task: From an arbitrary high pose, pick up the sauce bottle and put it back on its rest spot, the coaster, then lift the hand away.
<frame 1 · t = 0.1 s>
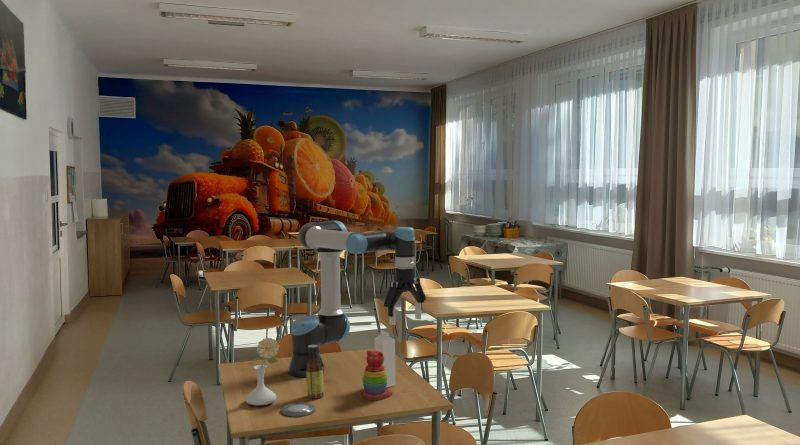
hand: (405, 321, 247), 28 cm above the table, tool pointing down, fingers open, 13 cm apart
stacking bear: (375, 396, 246), on the table
milk: (385, 385, 258), on the table
flower in vase: (263, 403, 240), on the table
coaster: (298, 410, 231), on the table
sauce bottle: (315, 396, 246), on the table
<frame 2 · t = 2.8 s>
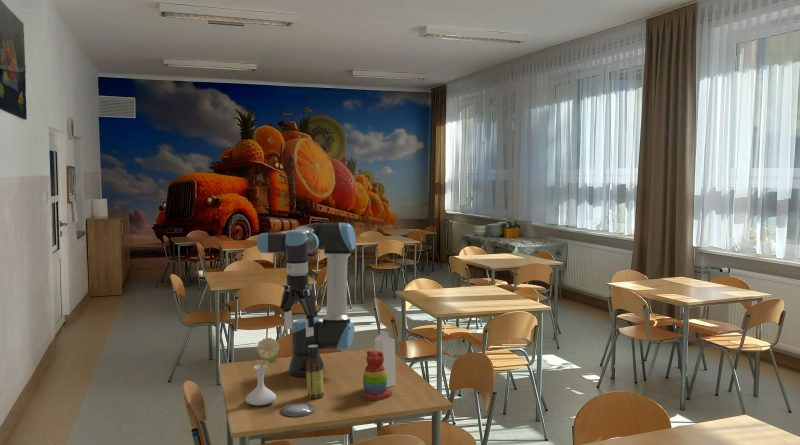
hand: (299, 332, 229), 29 cm above the table, tool pointing down, fingers open, 13 cm apart
nothing on the table moved.
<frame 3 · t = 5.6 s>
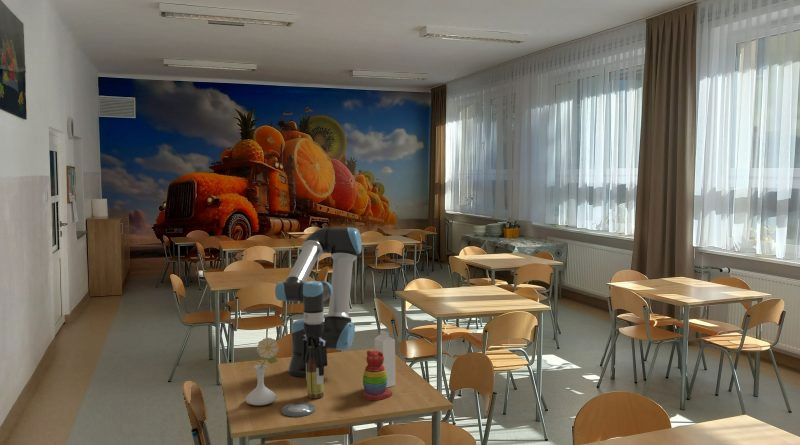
hand: (314, 381, 246), 6 cm above the table, tool pointing down, fingers closed on sauce bottle, 6 cm apart
sauce bottle: (315, 396, 246), on the table, touching gripper
everything else where it was.
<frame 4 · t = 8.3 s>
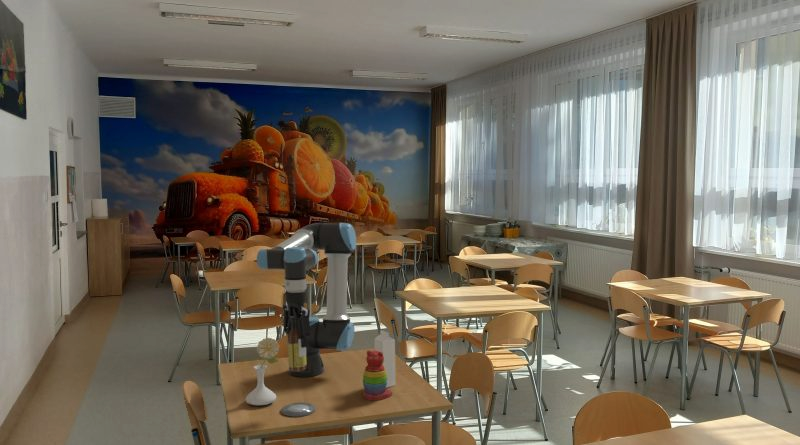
hand: (297, 353, 230), 21 cm above the table, tool pointing down, fingers closed on sauce bottle, 6 cm apart
sauce bottle: (297, 370, 230), point 15 cm above the table, touching gripper
everything else where it was.
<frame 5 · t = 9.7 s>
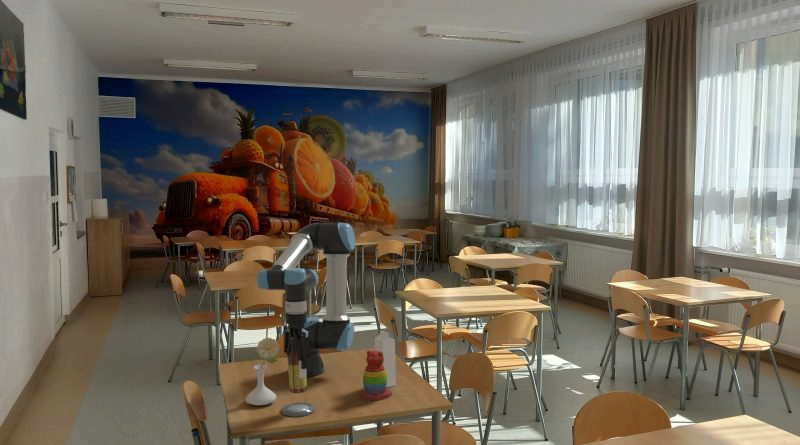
hand: (297, 375, 230), 13 cm above the table, tool pointing down, fingers closed on sauce bottle, 6 cm apart
sauce bottle: (297, 391, 231), point 7 cm above the table, touching gripper
everything else where it was.
when the fingers open (8 cm above the table, at t = 11.0 s): sauce bottle drops 1 cm, resting on coaster.
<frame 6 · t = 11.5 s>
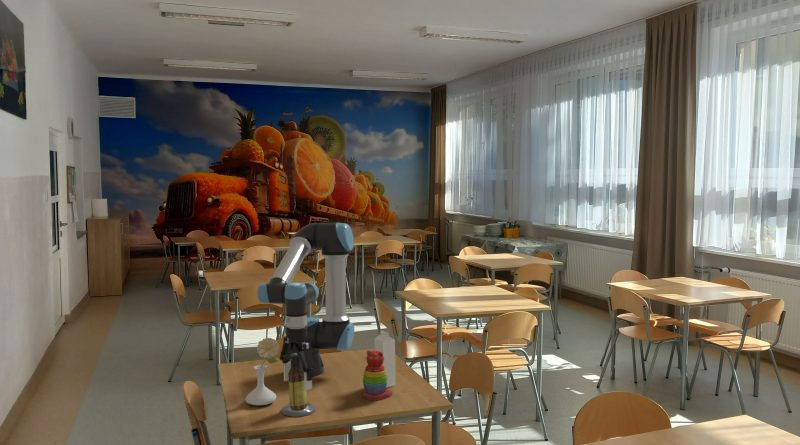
hand: (297, 384, 231), 10 cm above the table, tool pointing down, fingers open, 13 cm apart
sauce bottle: (298, 408, 232), point 1 cm above the table, touching coaster
everything else where it was.
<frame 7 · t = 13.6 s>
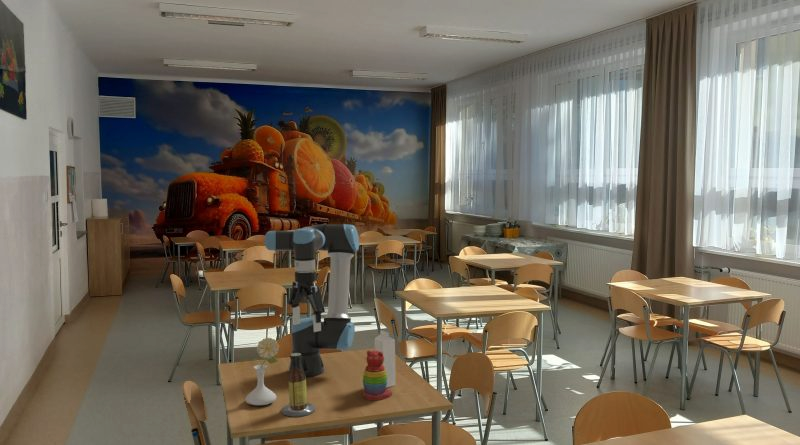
hand: (306, 327, 236), 29 cm above the table, tool pointing down, fingers open, 13 cm apart
nothing on the table moved.
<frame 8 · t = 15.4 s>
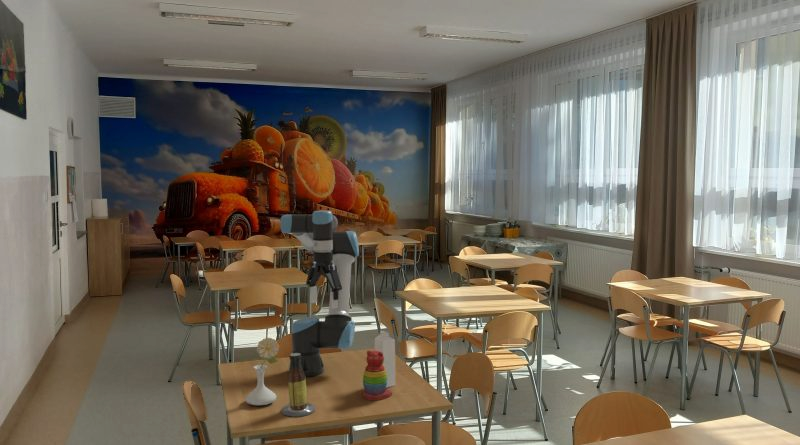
hand: (324, 305, 247), 35 cm above the table, tool pointing down, fingers open, 13 cm apart
nothing on the table moved.
at the end: sauce bottle 0.3 cm from the coaster (horizontally); sauce bottle tilted 0°; the gripper is holding nothing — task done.
